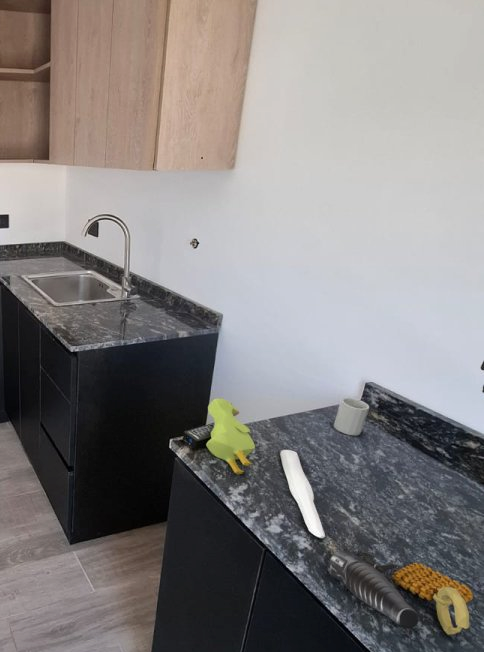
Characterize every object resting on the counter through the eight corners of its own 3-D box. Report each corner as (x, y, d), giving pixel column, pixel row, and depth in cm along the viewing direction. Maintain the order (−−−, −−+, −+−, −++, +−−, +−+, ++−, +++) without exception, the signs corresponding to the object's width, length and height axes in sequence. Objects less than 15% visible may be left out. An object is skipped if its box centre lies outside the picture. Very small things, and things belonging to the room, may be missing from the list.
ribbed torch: (409, 638, 70) (413, 628, 68) (319, 576, 79) (320, 566, 78) (435, 594, 73) (440, 584, 71) (345, 539, 83) (347, 530, 81)
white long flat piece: (329, 540, 86) (331, 529, 85) (303, 537, 87) (304, 526, 86) (297, 455, 111) (297, 446, 110) (277, 453, 112) (277, 444, 112)
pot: (352, 423, 125) (360, 398, 122) (365, 436, 119) (374, 410, 117) (328, 421, 125) (336, 396, 123) (341, 434, 120) (349, 408, 117)
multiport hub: (228, 438, 116) (230, 430, 115) (195, 449, 111) (196, 441, 110) (214, 429, 119) (216, 421, 118) (181, 439, 115) (183, 431, 114)
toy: (287, 464, 104) (240, 396, 119) (230, 457, 98) (188, 387, 113) (268, 480, 107) (225, 413, 122) (212, 475, 101) (174, 404, 116)
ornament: (451, 591, 79) (507, 661, 65) (377, 576, 82) (415, 640, 68) (457, 553, 78) (515, 617, 64) (383, 540, 82) (422, 597, 67)
